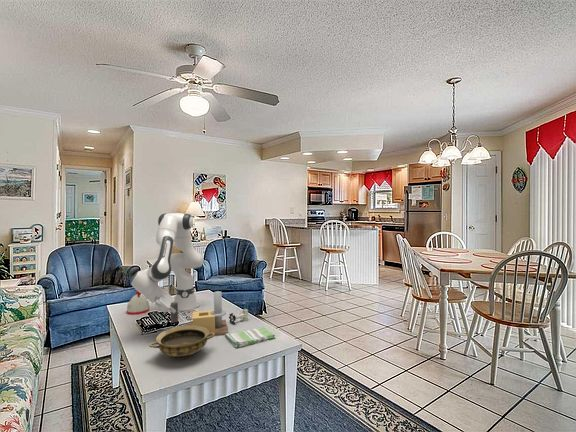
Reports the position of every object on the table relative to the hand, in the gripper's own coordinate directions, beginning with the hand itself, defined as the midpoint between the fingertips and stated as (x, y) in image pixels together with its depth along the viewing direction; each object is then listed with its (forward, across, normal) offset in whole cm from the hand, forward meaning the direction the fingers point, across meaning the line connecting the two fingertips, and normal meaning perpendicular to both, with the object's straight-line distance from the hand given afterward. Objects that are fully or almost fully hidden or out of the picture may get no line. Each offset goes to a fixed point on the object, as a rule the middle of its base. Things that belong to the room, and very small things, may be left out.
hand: (175, 310), depth 175 cm
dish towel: (+37, -18, -18) cm, 45 cm away
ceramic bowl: (+13, -28, +5) cm, 32 cm away
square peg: (+4, 0, +5) cm, 6 cm away
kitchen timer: (-10, +48, +30) cm, 57 cm away
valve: (+36, +7, -17) cm, 40 cm away
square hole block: (+21, 0, -5) cm, 22 cm away
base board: (+21, 0, -3) cm, 21 cm away
